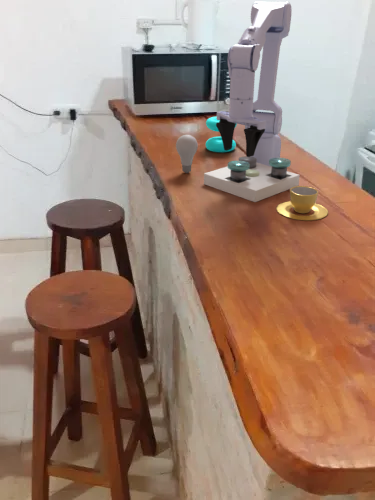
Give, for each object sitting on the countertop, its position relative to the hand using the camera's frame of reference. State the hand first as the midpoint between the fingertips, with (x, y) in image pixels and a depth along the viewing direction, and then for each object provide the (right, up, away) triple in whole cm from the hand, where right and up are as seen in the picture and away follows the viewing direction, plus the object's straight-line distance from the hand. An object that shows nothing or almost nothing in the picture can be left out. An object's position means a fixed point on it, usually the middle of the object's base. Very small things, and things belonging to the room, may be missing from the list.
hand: (238, 152), depth 129 cm
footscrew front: (0, -7, +4) cm, 8 cm away
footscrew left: (+11, -6, +6) cm, 14 cm away
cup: (+14, -16, -8) cm, 23 cm away
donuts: (-2, +8, +39) cm, 40 cm away
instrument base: (+4, -7, +8) cm, 11 cm away
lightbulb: (-13, -3, +17) cm, 21 cm away
